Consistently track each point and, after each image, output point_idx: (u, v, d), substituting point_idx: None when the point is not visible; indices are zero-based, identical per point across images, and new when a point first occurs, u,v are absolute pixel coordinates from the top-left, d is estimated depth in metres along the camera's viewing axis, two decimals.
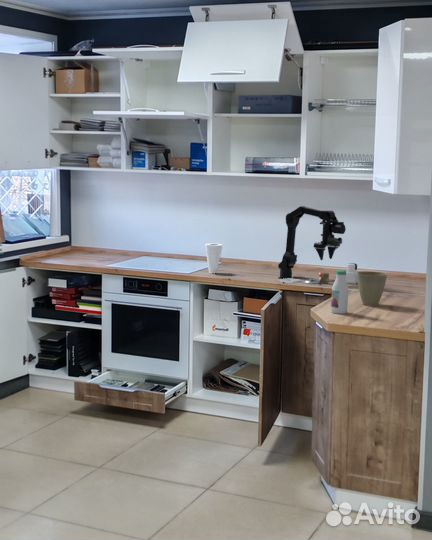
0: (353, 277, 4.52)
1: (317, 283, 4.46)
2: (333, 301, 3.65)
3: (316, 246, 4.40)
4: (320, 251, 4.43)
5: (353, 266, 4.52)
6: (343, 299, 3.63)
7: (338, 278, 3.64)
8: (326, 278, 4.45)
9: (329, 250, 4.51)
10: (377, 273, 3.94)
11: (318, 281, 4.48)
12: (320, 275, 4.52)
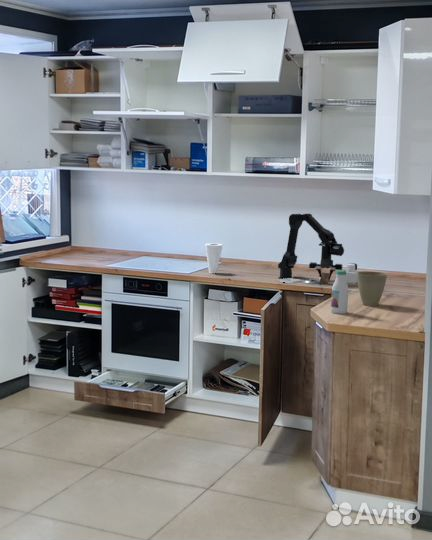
0: (353, 277, 4.52)
1: (317, 283, 4.46)
2: (333, 301, 3.65)
3: None
4: None
5: (353, 266, 4.52)
6: (343, 299, 3.63)
7: (338, 278, 3.64)
8: (326, 278, 4.45)
9: None
10: (377, 273, 3.94)
11: (318, 281, 4.48)
12: None
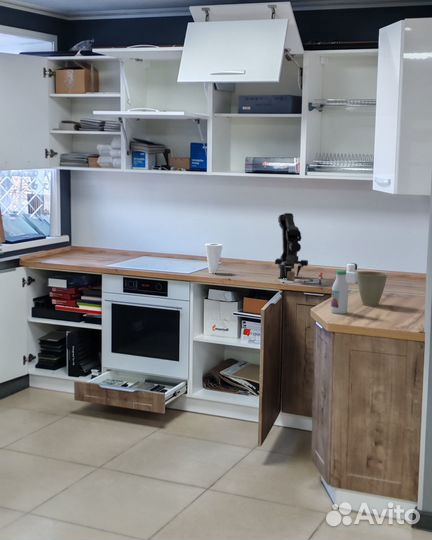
0: (353, 277, 4.52)
1: (317, 283, 4.46)
2: (333, 301, 3.65)
3: None
4: None
5: (353, 266, 4.52)
6: (343, 299, 3.63)
7: (338, 278, 3.64)
8: (292, 276, 4.50)
9: None
10: (377, 273, 3.94)
11: (318, 281, 4.48)
12: (320, 275, 4.52)
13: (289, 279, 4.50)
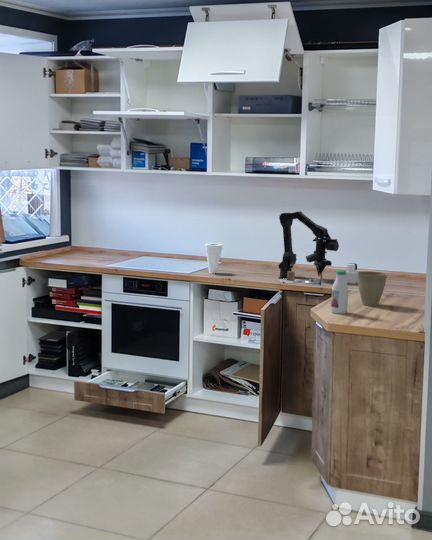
0: (353, 277, 4.52)
1: (317, 283, 4.46)
2: (333, 301, 3.65)
3: None
4: None
5: (353, 266, 4.52)
6: (343, 299, 3.63)
7: (338, 278, 3.64)
8: (292, 276, 4.50)
9: None
10: (377, 273, 3.94)
11: (318, 281, 4.48)
12: (320, 275, 4.52)
13: (289, 279, 4.50)
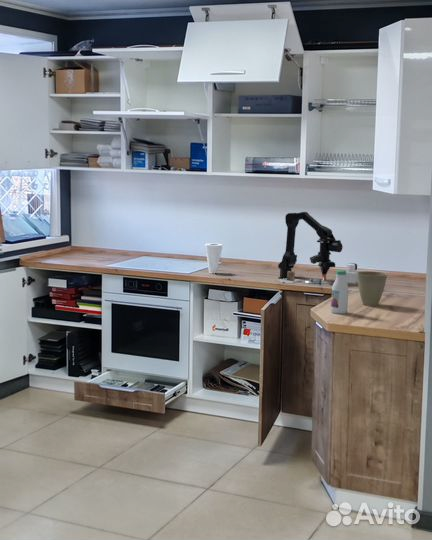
0: (353, 277, 4.52)
1: (312, 283, 4.44)
2: (333, 301, 3.65)
3: None
4: None
5: (353, 266, 4.52)
6: (343, 299, 3.63)
7: (338, 278, 3.64)
8: (292, 276, 4.50)
9: None
10: (377, 273, 3.94)
11: (317, 282, 4.46)
12: (323, 276, 4.48)
13: (289, 279, 4.50)
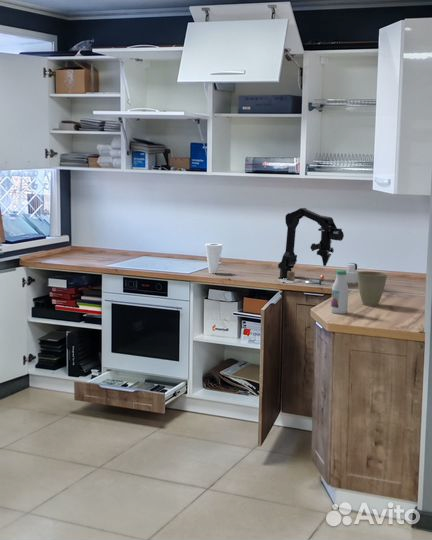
0: (353, 277, 4.52)
1: None
2: (333, 301, 3.65)
3: None
4: None
5: (353, 266, 4.52)
6: (343, 299, 3.63)
7: (338, 278, 3.64)
8: (292, 276, 4.50)
9: None
10: (377, 273, 3.94)
11: (312, 282, 4.45)
12: None
13: (289, 279, 4.50)
